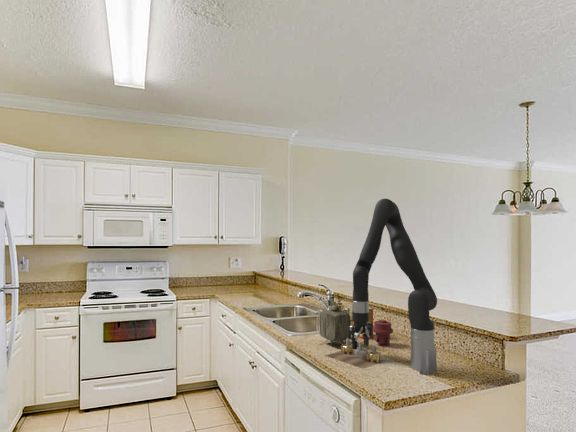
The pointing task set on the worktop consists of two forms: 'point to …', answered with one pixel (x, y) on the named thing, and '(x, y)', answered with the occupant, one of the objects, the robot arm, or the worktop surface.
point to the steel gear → (360, 353)
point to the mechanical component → (382, 332)
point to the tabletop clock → (334, 323)
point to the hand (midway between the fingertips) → (360, 347)
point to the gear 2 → (374, 357)
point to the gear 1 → (347, 348)
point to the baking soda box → (369, 321)
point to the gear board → (353, 357)
